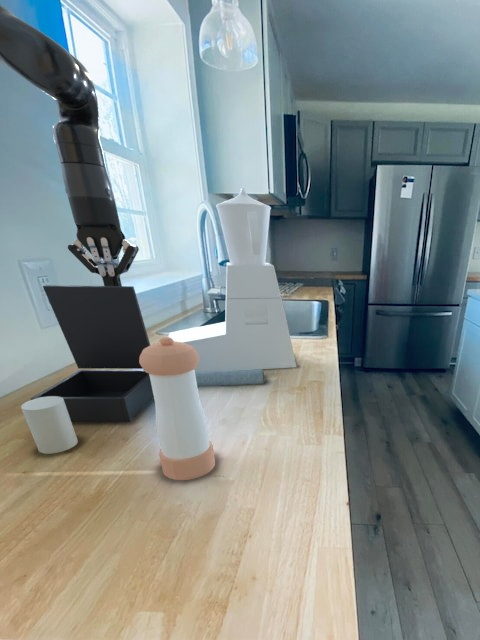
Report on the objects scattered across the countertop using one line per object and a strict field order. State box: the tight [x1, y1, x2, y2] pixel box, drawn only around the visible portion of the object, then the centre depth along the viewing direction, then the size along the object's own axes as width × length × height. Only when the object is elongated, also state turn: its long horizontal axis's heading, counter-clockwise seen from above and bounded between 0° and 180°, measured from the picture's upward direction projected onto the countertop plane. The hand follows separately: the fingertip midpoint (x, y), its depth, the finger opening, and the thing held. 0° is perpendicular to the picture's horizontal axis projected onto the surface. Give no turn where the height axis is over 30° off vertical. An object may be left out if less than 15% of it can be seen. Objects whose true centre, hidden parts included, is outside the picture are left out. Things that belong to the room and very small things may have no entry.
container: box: [20, 396, 79, 455], centre depth 56 cm, size 5×5×8 cm
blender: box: [167, 188, 297, 372], centre depth 90 cm, size 33×18×40 cm, turn 104°
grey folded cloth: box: [195, 369, 265, 387], centre depth 84 cm, size 23×7×3 cm, turn 101°
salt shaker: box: [139, 336, 216, 481], centre depth 49 cm, size 7×7×19 cm
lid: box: [42, 284, 151, 370], centre depth 73 cm, size 16×16×6 cm
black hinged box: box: [30, 369, 154, 423], centre depth 71 cm, size 16×16×5 cm
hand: (115, 295), depth 75 cm, fingers closed
